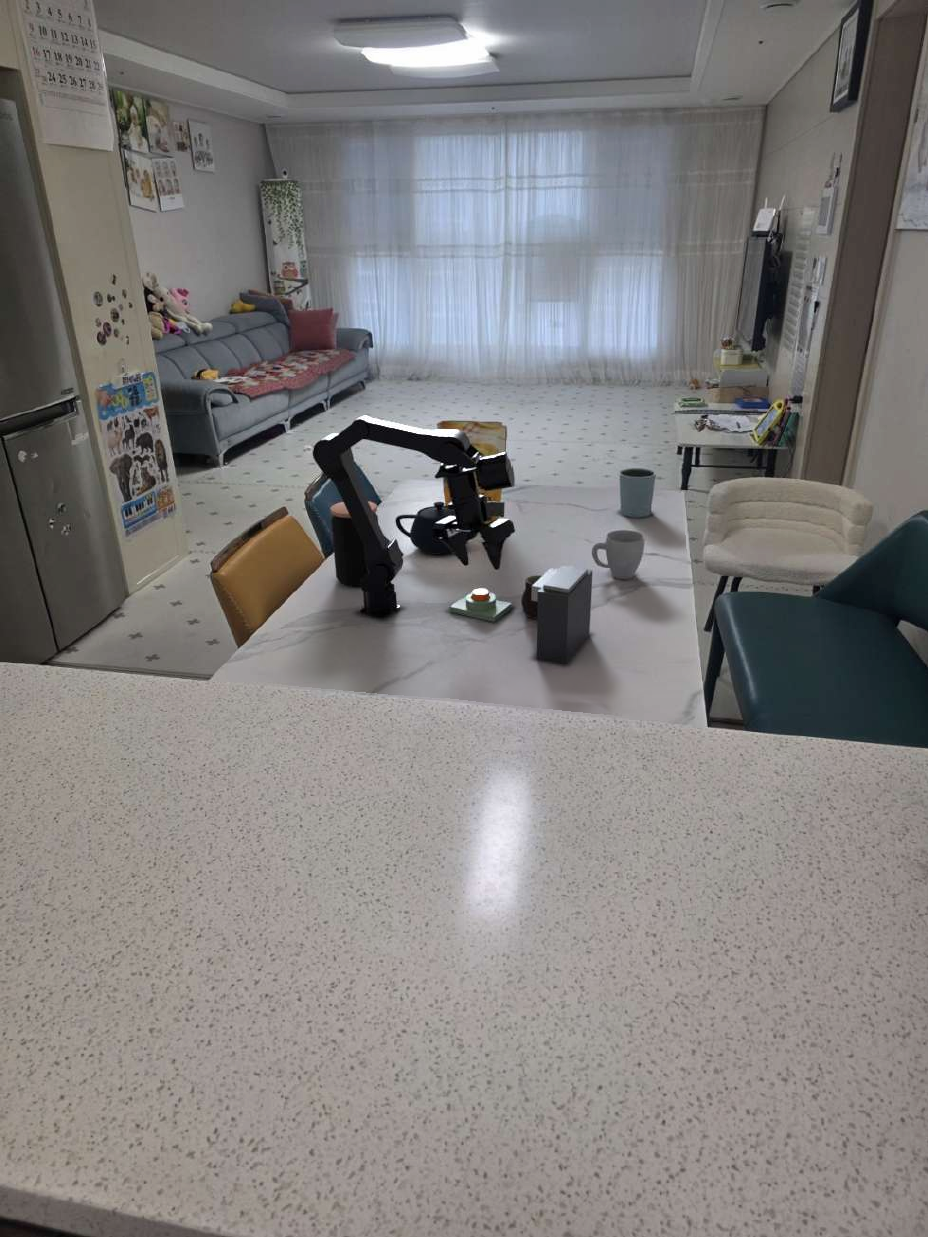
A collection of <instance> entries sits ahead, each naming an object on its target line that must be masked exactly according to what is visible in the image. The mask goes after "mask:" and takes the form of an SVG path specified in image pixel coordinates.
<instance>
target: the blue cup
mask: <svg viewBox="0 0 928 1237" xmlns="http://www.w3.org/2000/svg"><path fill="white" fill-rule="evenodd" d="M618 476H619V496H620V497H619V500H620V502H619V503H620V514H621V515H622V516H625V517H628V518H636V519H638V518H640V519H641V518H646V517H647V518H648V517H649V516H650V515H651V514H652V508H653V506H652V504H653V500H654V491H655V488H654V487H655V483H656V478H657V477H656V476H657V473H656V471H655V470H652V469H649V468H642V467H634V468H633V467H632V468H631V467H630V468H625V469H622V470H620V471H619V474H618Z"/></svg>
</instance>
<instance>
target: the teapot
mask: <svg viewBox="0 0 928 1237" xmlns="http://www.w3.org/2000/svg"><path fill="white" fill-rule="evenodd" d="M448 516H455V513H454V509H449V507H448V506H445V501H444V502H443V501H435V502H433V506H427V507H424V508H420V509H419V510H418V511H417V512H416V514H401V515H400V514H399V515H398V516H396V517H395V519H394V520H395V525H396V527H397V529H398V530H399V531H400V532H401V533H402V534H403V535H405V536H406V537H407V538H409V539H410V541H411V543H412V545H413V546H414V547H415V548H417V549H418V550H419V551H421V552H422V553H425V554H429V555H449V554H454V553H453V552H452V551H451V550H450V549H449V548H448V547H447V546H446V544H445V543H444V542H443V541H440V539H439V538H440V537H435V535H434V531H433V527H434V524H435V523H436V522H438V521H440V520H442V519H444V518H446V517H448ZM404 519H411V520H412V519H413V522H412V525H411V528H410V530H409V531H410V532H409V531H407V529H405V527H404V526H403V525H402V523H401V520H404ZM478 535H479V533H471V532H467V534H466V537H465V542H466V545H467V544H468V542H469V541H472V540H473V539H475V538H477V536H478Z"/></svg>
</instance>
